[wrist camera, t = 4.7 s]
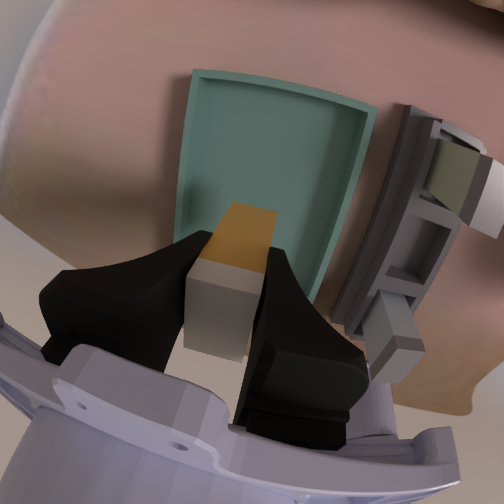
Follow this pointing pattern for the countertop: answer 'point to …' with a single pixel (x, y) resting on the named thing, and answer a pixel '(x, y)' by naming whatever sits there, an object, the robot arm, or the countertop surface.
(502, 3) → the ceramic bowl
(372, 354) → the grey rectangular block
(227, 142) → the parts tray
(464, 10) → the countertop surface
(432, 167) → the block
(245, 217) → the block
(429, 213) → the fuse holder
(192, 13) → the countertop surface
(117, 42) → the countertop surface
